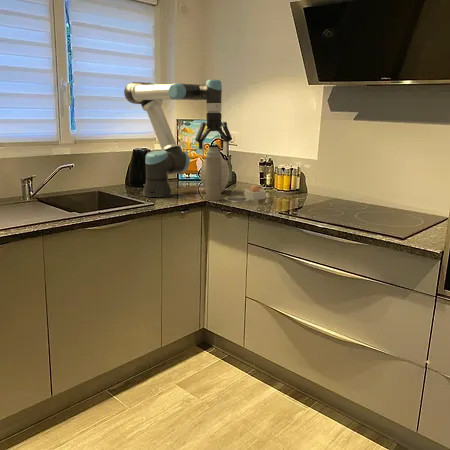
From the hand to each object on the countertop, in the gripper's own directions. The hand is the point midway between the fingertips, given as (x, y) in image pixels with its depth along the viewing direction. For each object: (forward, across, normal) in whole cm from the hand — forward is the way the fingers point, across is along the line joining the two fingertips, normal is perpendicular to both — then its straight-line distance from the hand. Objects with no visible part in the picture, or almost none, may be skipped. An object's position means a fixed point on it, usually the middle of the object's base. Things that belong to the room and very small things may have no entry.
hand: (213, 155), depth 238 cm
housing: (+23, +21, -8) cm, 32 cm away
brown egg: (+20, +21, -8) cm, 30 cm away
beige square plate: (+23, +10, -7) cm, 26 cm away
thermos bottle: (+23, 0, 0) cm, 23 cm away
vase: (+23, +10, +16) cm, 30 cm away
